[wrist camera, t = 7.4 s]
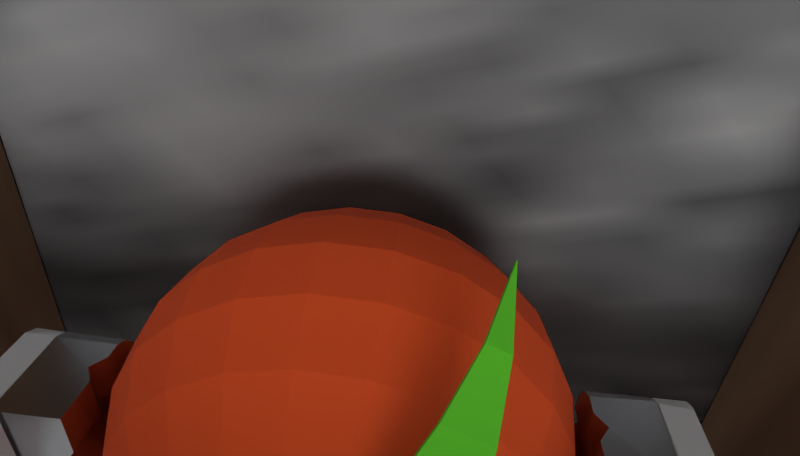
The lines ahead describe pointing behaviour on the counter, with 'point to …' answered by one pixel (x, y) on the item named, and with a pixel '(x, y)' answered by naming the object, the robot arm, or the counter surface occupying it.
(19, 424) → the robot arm
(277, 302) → the clementine
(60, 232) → the counter surface
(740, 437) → the wooden frame
